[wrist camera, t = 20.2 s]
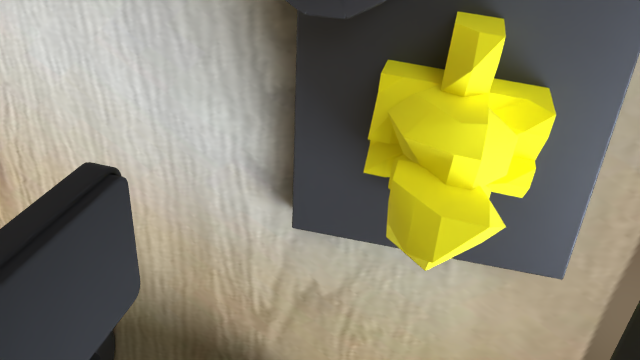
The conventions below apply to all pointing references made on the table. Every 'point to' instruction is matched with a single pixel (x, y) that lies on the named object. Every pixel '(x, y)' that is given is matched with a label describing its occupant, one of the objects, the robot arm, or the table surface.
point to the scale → (432, 50)
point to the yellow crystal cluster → (454, 143)
